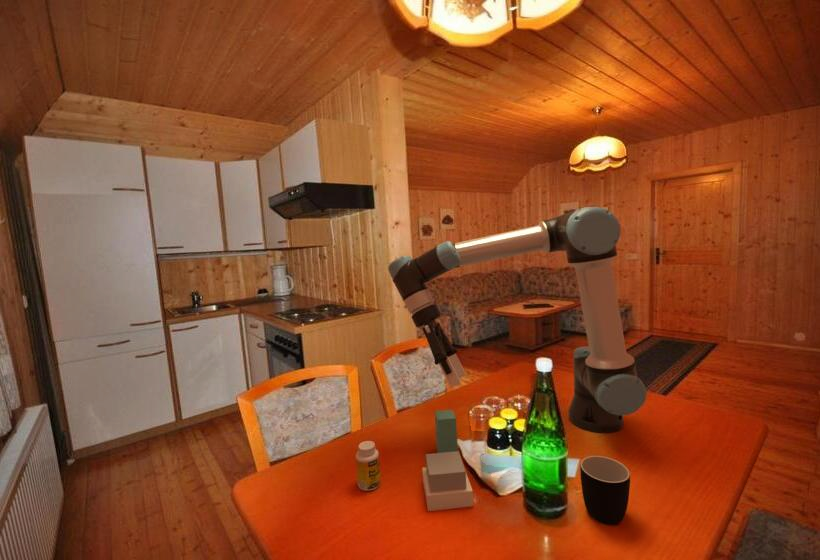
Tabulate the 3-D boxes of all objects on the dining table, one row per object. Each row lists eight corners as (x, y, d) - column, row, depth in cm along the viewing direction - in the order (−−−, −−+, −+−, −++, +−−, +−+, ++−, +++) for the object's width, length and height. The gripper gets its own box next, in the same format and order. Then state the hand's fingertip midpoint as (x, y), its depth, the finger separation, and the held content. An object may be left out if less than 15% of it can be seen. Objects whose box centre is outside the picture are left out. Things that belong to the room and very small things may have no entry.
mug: (639, 529, 72) (640, 480, 71) (594, 533, 72) (594, 484, 71) (605, 488, 84) (605, 446, 83) (566, 491, 84) (565, 449, 83)
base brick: (463, 479, 91) (462, 463, 90) (473, 508, 81) (472, 490, 80) (423, 483, 90) (422, 467, 90) (428, 512, 80) (427, 495, 80)
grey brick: (459, 466, 89) (458, 451, 89) (466, 488, 81) (465, 471, 81) (426, 469, 89) (425, 454, 88) (430, 492, 81) (429, 475, 80)
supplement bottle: (370, 495, 86) (367, 454, 85) (353, 487, 89) (350, 447, 88) (385, 482, 91) (382, 442, 90) (368, 474, 94) (365, 436, 93)
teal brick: (454, 446, 104) (452, 409, 103) (457, 457, 99) (456, 418, 98) (436, 448, 104) (434, 411, 103) (439, 459, 99) (437, 419, 98)
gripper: (420, 315, 114) (452, 379, 110) (398, 315, 90) (439, 397, 86) (441, 304, 113) (475, 368, 108) (425, 301, 89) (467, 383, 84)
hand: (459, 381), depth 97 cm, fingers open, 13 cm apart
